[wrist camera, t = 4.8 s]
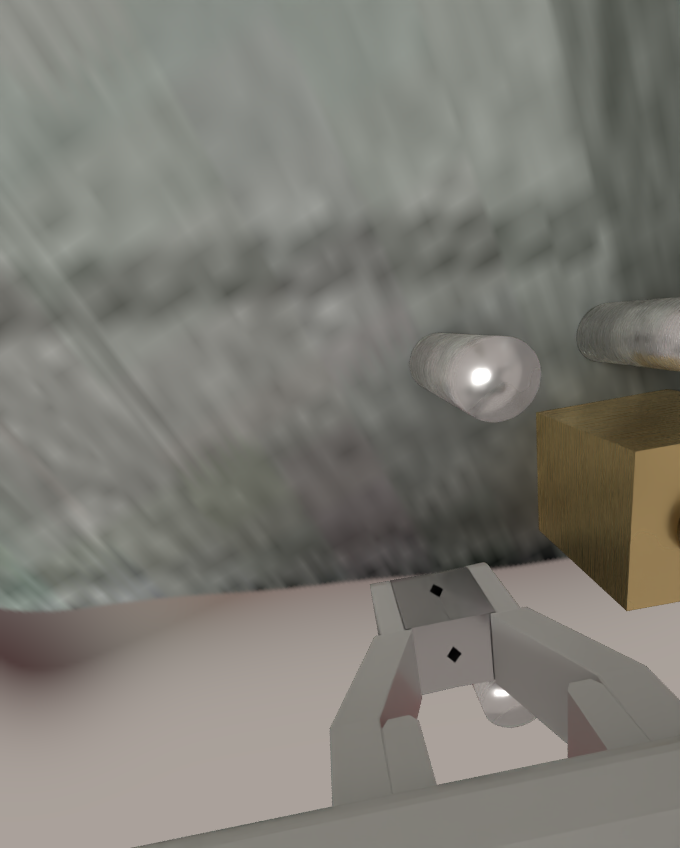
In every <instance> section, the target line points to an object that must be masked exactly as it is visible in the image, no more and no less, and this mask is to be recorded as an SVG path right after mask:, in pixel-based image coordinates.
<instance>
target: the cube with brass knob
mask: <svg viewBox="0 0 680 848" xmlns="http://www.w3.org/2000/svg"><path fill="white" fill-rule="evenodd" d="M536 426H537V468H538V511H539V530H540V531H541V532H542V533H543V534H544V535H545V536H546V537H547V538H548V539H549V540H550V541H551V542H552V543H554V544H555V545H556V546H557V547H558V548H559V549H560V550H561V551H562V552H563V553H564V554H565V555H567V556H568V557H569V558H570V559H571V560H572V561H573V562H574V563H575V564H576V565H577V566H578V567H580V568H581V569H582V570H583V571H584V572H585V573H586V574H587V575H588V576H589V577H590V578H592V579H593V580H594V581H595V582H596V583H597V584H598V585H599V586H600V587H602V589H603V590H604V591H606V592H607V593H608V594H609V595H610V596H611V597H612V598H613V599H614V600H615V601H616V602H617V603H618V604H620V605H621V606H622V607H623V608H624V609H625V610H626V611H630V610H636V609H641V608H647V607H652V606H658V605H663V604H669V603H673V602H679V601H680V391H674V390H669V389H665V390H660V391H654V392H648V393H643V394H637V395H631V396H626V397H620V398H615V399H609V400H603V401H598V402H592V403H586V404H581V405H575V406H570V407H564V408H558V409H553V410H547V411H541V412H536Z"/></svg>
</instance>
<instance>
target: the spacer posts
mask: <svg viewBox="0 0 680 848" xmlns="http://www.w3.org/2000/svg"><path fill="white" fill-rule="evenodd" d="M577 344H578V347H579V350H580V351H581V353H582V354H583V355H584V356H585V357H586V358H588V359H590V360H593V361H600V362H608V363H616V364H624V365H632V366H640V367H648V368H656V369H664V370H672V371H680V297H675V298H662V299H650V300H638V301H625V302H613V303H604V304H600V305H598V306H596V307H594V308H593V309H591V310H590V311H589V312H588V313H587V314H586V315H585V316H584V318H583V319H582V321H581V322H580V325H579V327H578V331H577ZM409 364H410V371H411V374H412V376H413V378H414V380H415V381H416V382H417V383H418V384H419V385H420V386H422V387H423V388H425V389H427V390H429V391H430V392H432V393H434V394H435V395H437V396H439V397H441V398H442V399H444V400H446V401H448V402H449V403H451V404H453V405H454V406H456V407H458V408H460V409H461V410H463V411H465V412H467V413H468V414H470V415H472V416H473V417H475V418H477V419H479V420H482V421H486V422H501V421H505V420H508V419H511V418H513V417H515V416H517V415H518V414H520V413H521V412H523V411H524V410H525V409H526V408H527V407H528V406H529V405H530V404H531V402H532V401H533V399H534V398H535V396H536V394H537V392H538V389H539V386H540V381H541V367H540V362H539V360H538V357H537V355H536V353H535V352H534V351H533V349H532V348H531V347H530V346H529V345H528V344H526V343H525V342H524V341H522V340H520V339H517V338H514V337H509V336H491V335H471V334H452V333H434V334H430V335H428V336H426V337H424V338H423V339H421V340H420V341H419V342H418V343H417V344H416V346H415V347H414V349H413V351H412V353H411V356H410V363H409ZM472 685H473V687H474V690H475V692H476V694H477V697H478V699H479V701H480V703H481V705H482V708H483V711H484V713H485V715H486V717H487V718H488V720H490V721H491V722H492V723H493V724H495V725H497V726H501V727H507V728H512V727H519V726H522V725H525V724H527V723H530V722H531V721H533V720H535V719H536V717H535V716H534V715H533V714H532V713H530V712H529V711H528V710H527V709H526V708H525V707H523V706H522V705H521V704H520V703H519V702H518V701H516V700H515V699H514V698H513V697H512V696H510V695H509V694H508V693H507V692H506V691H505V690H503V689H502V688H501V687H500V686H499V685H498V684H496V683H495V681H489V682H483V683H477V684H472Z"/></svg>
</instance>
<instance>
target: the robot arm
mask: <svg viewBox="0 0 680 848" xmlns="http://www.w3.org/2000/svg"><path fill="white" fill-rule="evenodd" d="M370 588H371V594H372V600H373V605H374V612H375V618H376V624H377V629H378V635H379V636H375V637H374V639H373V641H372V643H371V645H370V647H369V649H368V651H367V653H366V656H365V658H364V659H363V662H362V664H361V666H360V668H359V670H358V672H357V674H356V676H355V678H354V680H353V682H352V684H351V686H350V688H349V690H348V692H347V694H346V696H345V698H344V700H343V702H342V704H341V707H340V709H339V711H338V713H337V715H336V717H335V719H334V721H333V723H332V725H331V727H330V750H331V780H332V807H328V808H323V809H318V810H313V811H308V812H303V813H298V814H294V815H289V816H284V817H279V818H274V819H269V820H265V821H259V822H255V823H250V824H245V825H240V826H235V827H230V828H225V829H221V830H216V831H211V832H206V833H201V834H196V835H191V836H187V837H182V838H177V839H172V840H167V841H163V842H158V843H153V844H148V845H143V846H138V847H133V848H680V700H679V699H678V698H677V697H676V696H675V695H674V694H673V693H672V692H671V691H670V690H669V689H668V688H667V687H666V686H665V685H664V684H663V683H662V682H661V681H660V680H659V679H658V678H657V677H656V676H655V674H654V673H653V672H651V670H649V668H648V667H647V666H645V665H643V664H641V663H639V662H637V661H635V660H633V659H631V658H629V657H627V656H625V655H623V654H621V653H619V652H617V651H615V650H613V649H611V648H609V647H607V646H605V645H603V644H601V643H598V642H596V641H595V640H592V639H591V638H588V637H587V636H584V635H582V634H580V633H578V632H576V631H574V630H572V629H570V628H568V627H566V626H564V625H562V624H560V623H558V622H556V621H554V620H552V619H550V618H548V617H546V616H544V615H542V614H540V613H538V612H536V611H534V610H532V609H530V608H528V607H523V608H520V607H519V605H518V604H517V603H516V601H515V600H514V599H513V597H512V596H511V595H510V593H509V592H508V591H507V589H505V587H504V585H503V584H502V583H501V581H500V580H499V579H498V577H497V576H496V575H495V573H494V572H493V571H492V569H491V568H490V567H489V565H488V564H486V563H485V562H483V563H478V564H473V565H469V566H465V567H462V568H457V569H452V570H447V571H442V572H437V573H432V574H426V575H420V576H414V577H408V578H402V579H396V580H390V582H389V581H385V582H380V583H374V584H370ZM489 681H495V683H496V684H498V685H499V686H500V687H501V688H502V689H503V690H505V691H506V692H507V693H508V694H509V695H510V696H512V697H513V698H514V699H515V700H516V701H518V702H519V703H520V704H521V705H522V706H523V707H525V708H526V709H527V710H528V711H529V712H530V713H532V714H533V715H534V716H535V717H536V718H538V719H539V720H540V721H541V722H542V723H544V724H545V725H546V726H547V727H548V728H549V729H550V730H552V731H553V732H554V733H555V734H556V735H558V736H559V737H560V738H561V739H562V740H563V741H565V742H566V743H567V744H568V758H567V759H562V760H557V761H552V762H547V763H542V764H537V765H532V766H528V767H522V768H518V769H513V770H508V771H503V772H499V773H493V774H489V775H484V776H478V777H474V778H469V779H464V780H460V781H454V782H449V783H444V784H439V785H437V784H436V781H435V777H434V773H433V770H432V767H431V763H430V759H429V755H428V752H427V748H426V745H425V741H424V737H423V734H422V730H421V727H420V723H419V720H417V717H418V713H419V708H420V704H421V700H422V695H424V694H429V693H433V692H437V691H441V690H446V689H450V688H454V687H459V686H465V685H471V684H477V683H483V682H489Z"/></svg>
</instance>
